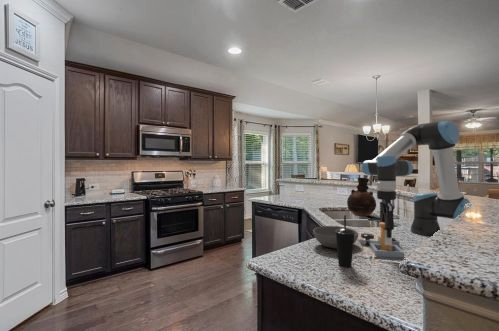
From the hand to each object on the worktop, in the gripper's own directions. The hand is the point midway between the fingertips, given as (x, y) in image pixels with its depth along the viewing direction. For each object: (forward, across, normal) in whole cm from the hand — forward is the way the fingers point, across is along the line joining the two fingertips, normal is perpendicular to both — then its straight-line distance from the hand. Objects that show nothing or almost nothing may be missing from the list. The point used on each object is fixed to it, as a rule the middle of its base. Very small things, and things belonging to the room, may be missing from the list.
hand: (386, 242), depth 123 cm
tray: (+6, 0, 0) cm, 6 cm away
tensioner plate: (+6, -13, 0) cm, 14 cm away
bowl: (+6, -9, -21) cm, 24 cm away
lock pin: (+5, 0, 0) cm, 5 cm away
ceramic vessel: (+6, -98, +5) cm, 98 cm away
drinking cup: (+6, +16, -19) cm, 26 cm away
